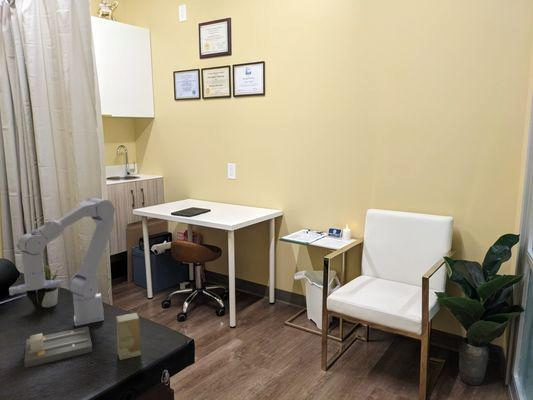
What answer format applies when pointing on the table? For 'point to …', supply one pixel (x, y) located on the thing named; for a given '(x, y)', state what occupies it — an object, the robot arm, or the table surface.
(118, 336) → the skincare box
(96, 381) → the table surface
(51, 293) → the house plant
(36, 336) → the block
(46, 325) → the table surface
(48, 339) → the panel
